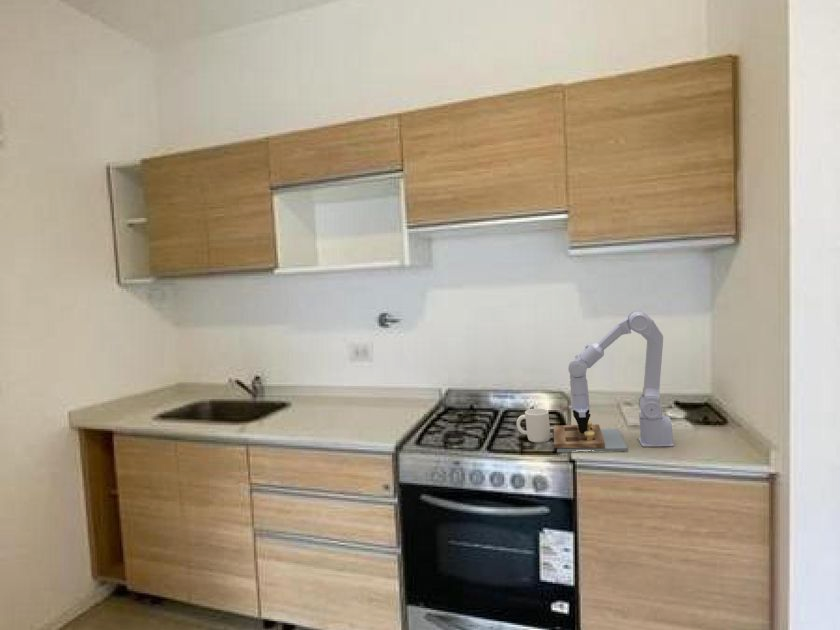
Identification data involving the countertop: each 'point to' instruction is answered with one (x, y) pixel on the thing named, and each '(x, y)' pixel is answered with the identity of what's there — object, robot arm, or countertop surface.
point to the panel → (577, 437)
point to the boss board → (611, 440)
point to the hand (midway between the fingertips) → (583, 431)
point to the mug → (536, 425)
